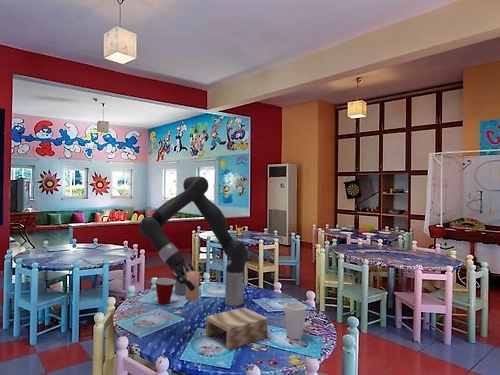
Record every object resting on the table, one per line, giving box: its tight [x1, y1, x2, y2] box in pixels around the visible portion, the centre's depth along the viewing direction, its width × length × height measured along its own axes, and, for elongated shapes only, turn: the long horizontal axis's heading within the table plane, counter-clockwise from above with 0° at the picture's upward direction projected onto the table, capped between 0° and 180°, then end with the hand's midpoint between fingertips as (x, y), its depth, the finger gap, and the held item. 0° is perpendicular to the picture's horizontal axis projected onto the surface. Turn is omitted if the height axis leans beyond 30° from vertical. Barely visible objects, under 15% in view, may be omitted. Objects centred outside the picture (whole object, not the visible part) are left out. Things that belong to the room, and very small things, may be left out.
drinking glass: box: [173, 276, 186, 297], centre depth 204 cm, size 10×10×12 cm
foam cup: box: [283, 301, 308, 340], centre depth 151 cm, size 10×9×13 cm
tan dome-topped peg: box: [185, 270, 201, 302], centre depth 148 cm, size 5×5×11 cm
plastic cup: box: [154, 277, 176, 306], centre depth 187 cm, size 11×11×12 cm
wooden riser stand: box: [205, 307, 269, 351], centre depth 149 cm, size 20×16×8 cm
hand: (196, 287), depth 148 cm, fingers closed on tan dome-topped peg, 5 cm apart
